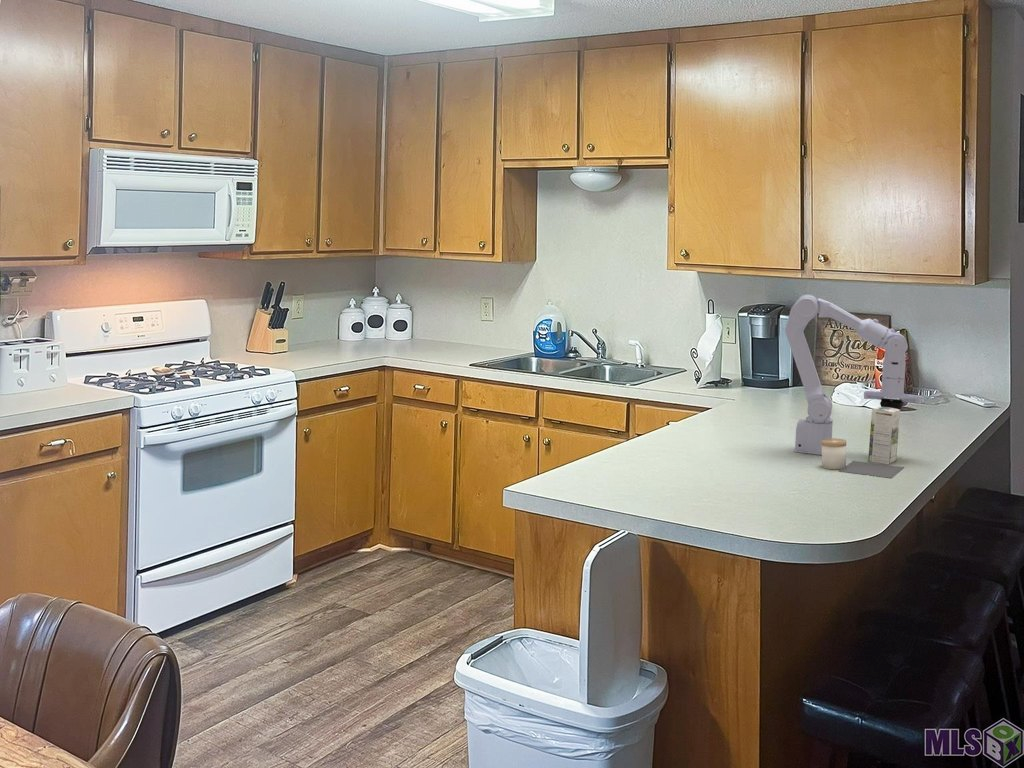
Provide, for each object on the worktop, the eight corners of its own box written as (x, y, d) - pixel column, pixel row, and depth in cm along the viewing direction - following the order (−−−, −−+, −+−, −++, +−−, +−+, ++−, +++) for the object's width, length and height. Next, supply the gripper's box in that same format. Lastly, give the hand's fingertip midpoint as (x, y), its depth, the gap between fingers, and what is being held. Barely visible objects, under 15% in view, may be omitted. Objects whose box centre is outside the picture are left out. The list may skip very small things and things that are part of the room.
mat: (838, 472, 254) (838, 470, 254) (853, 461, 265) (853, 460, 265) (891, 479, 247) (891, 477, 246) (904, 468, 258) (904, 467, 258)
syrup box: (875, 458, 269) (878, 406, 267) (897, 461, 266) (900, 408, 263) (867, 462, 265) (870, 408, 263) (890, 465, 261) (893, 411, 259)
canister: (818, 468, 258) (818, 441, 257) (825, 463, 263) (825, 437, 262) (842, 470, 254) (842, 443, 254) (849, 465, 260) (849, 439, 259)
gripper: (924, 378, 267) (921, 427, 269) (869, 373, 275) (866, 421, 277) (919, 381, 261) (916, 431, 263) (862, 376, 269) (860, 425, 271)
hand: (890, 427), depth 270 cm, fingers closed
